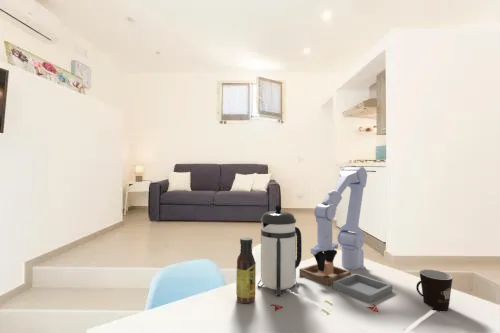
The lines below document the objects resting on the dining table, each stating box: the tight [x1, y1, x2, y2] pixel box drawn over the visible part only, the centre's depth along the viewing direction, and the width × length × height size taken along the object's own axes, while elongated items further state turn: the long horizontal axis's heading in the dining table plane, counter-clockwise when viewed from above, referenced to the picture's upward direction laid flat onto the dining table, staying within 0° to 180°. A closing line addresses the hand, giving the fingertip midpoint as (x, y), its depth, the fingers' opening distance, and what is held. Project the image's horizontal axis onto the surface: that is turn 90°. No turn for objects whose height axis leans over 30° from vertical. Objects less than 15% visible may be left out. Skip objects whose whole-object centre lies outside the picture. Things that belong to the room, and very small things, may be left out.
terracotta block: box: [319, 260, 334, 275], centre depth 110 cm, size 4×4×4 cm
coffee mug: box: [416, 269, 453, 312], centre depth 88 cm, size 12×9×10 cm
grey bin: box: [332, 272, 393, 304], centre depth 98 cm, size 14×14×3 cm
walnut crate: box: [299, 263, 352, 287], centre depth 110 cm, size 14×14×3 cm
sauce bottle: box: [235, 237, 257, 304], centre depth 92 cm, size 7×6×20 cm
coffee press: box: [257, 204, 303, 297], centre depth 102 cm, size 17×16×30 cm
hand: (324, 269), depth 110 cm, fingers closed on terracotta block, 4 cm apart
